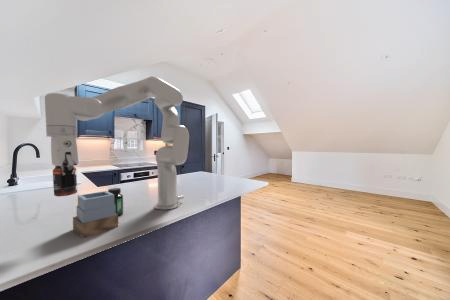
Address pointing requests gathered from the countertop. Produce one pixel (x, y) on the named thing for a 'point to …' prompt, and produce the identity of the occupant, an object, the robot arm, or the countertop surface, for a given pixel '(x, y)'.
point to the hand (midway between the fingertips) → (64, 185)
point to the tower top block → (95, 206)
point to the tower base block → (94, 225)
